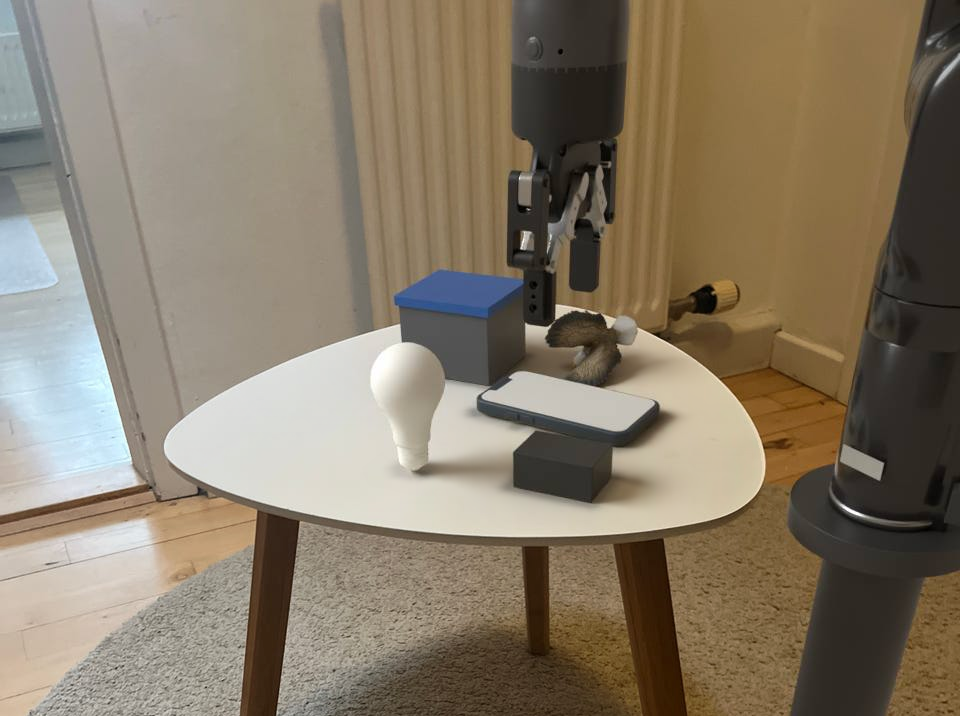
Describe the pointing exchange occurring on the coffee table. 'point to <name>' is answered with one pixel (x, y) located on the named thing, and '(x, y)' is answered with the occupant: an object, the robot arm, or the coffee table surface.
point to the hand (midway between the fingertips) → (562, 306)
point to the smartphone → (569, 407)
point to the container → (466, 322)
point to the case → (562, 465)
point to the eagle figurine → (591, 343)
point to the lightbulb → (408, 397)
